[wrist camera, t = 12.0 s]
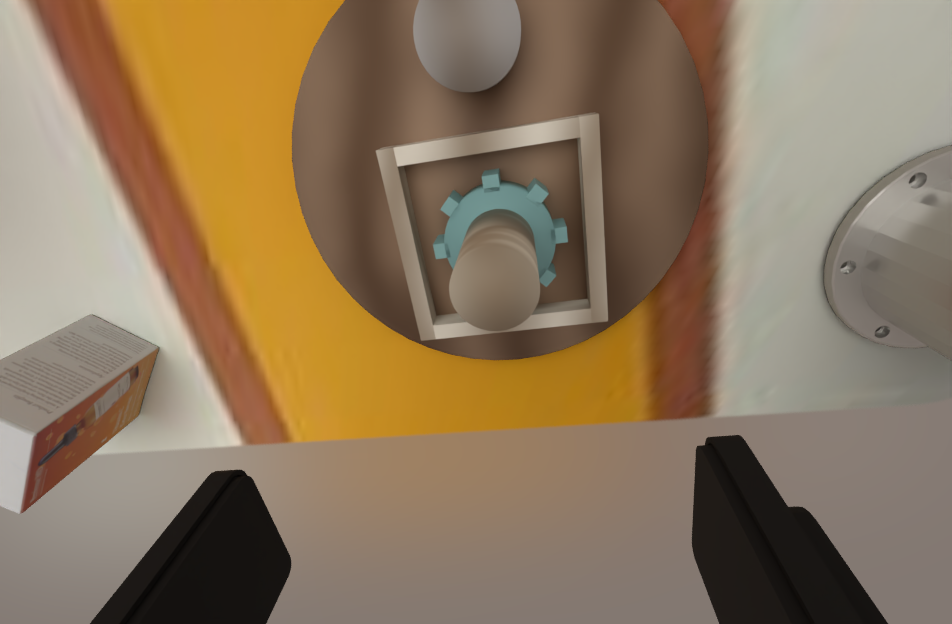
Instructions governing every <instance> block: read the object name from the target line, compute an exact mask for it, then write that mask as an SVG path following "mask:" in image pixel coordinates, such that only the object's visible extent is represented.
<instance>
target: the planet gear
mask: <svg viewBox="0 0 952 624" xmlns="http://www.w3.org/2000/svg"><path fill="white" fill-rule="evenodd" d="M482 183H483V184H481V185H478V186H476V187H475V188H473V189H471V190H470V191H469V192H467V193H466V194H465V195H464V196H461V195H460V194H459V193H457V192H456V191H455V190H453V191H452V192H451V194H450V195H449V197H448V198H447V200H446V201H445V203H444V204H443V206H442V207H441V209H440V210H441V211H443V212H444V213H445V214H447V215H448V216H450V218H449V220H448V223H447V226H446V229H445V234H442V235H438V236H437V238H436V240H435V242H434V244H433V248H434V252H435V257H436V259H442V258H448V261H449V263H450V265H451V267H452V269H453V272H452V275H451V278H450V283H449V293H450V299H451V302H452V304H453V307H454V308H455V310H456V312H457V313H458V314H459V315H460V316H461V317H462V318H463V319H464V320H465V321H466V322H468V323H469V324H471V325H472V326H474V327H477V328H479V329H483V330H487V331H503V330H508V329H511V328H514V327H516V326H518V325H520V324H522V323H523V322H524V321H526V320H527V319H528V318H529V317H530V316H531V314H532V313H533V312H534V310H535V308H536V306H537V304H538V301H539V297H540V283H542V284H543V285H544V286H546V287H547V286H548V285H549V284H550V283H551V282H552V280H553V279H554V278H555V277H556V272H555V267H554V264H553V263H551V261H552V259H553V256H554V252H555V246H556V244H558V243H566V242H568V238H567V226H566V224H565V221H564V218H559V219H552V218H551V215H550V212H549V210H548V208H547V206H546V205H545V203H544V202H543V201H544V199H545V198H546V197H547V196H548V194H549V193H548V190H547V187H546V186H545V185H543V184H542V183H541V182H540V181H538V180H537V179H536V178H534V179H533V180H532V182H531V183H530V184H529V185H528V187H526V186H524V185H522V184H519V183H516V182H512V181H503V180H501V178H500V170H499V168H498V169H492V170H485V171H484V172H483V174H482Z"/></svg>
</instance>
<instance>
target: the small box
mask: <svg viewBox="0 0 952 624" xmlns="http://www.w3.org/2000/svg"><path fill="white" fill-rule="evenodd" d="M158 350H159V347H157V346H155V345H153V344H151V343H149V342H147V341H145V340H143V339H140V338H138V337H136V336H134V335H132V334H130V333H128V332H126V331H124V330H122V329H120V328H118V327H116V326H114V325H112V324H110V323H108V322H106V321H104V320H102V319H100V318H98V317H96V316H94V315H88V316H86V317H84V318H82V319H80V320H78V321H76V322H74V323H72V324H70V325H69V326H67V327H65V328H63V329H61V330H59V331H57V332H55V333H53V334H51V335H49V336H47V337H45V338H43V339H41V340H39V341H37V342H35V343H33V344H31V345H29V346H27V347H25V348H23V349H21V350H19V351H17V352H15V353H13V354H11V355H9V356H7V357H5V358H3V359H1V360H0V506H2V507H4V508H7V509H9V510H12V511H14V512H17V513H19V514H21V513H23V512H24V511H26V510H27V509H28V508H29V507H30V506H31V505H33V504H34V503H35V502H36V501H37V500H38V499H40V498H41V497H42V496H43V495H44V494H46V493H47V492H48V491H49V490H50V489H52V488H53V487H54V486H55V485H56V484H58V483H59V482H60V481H61V480H62V479H64V478H65V477H66V476H67V475H68V474H70V473H71V472H72V471H73V470H74V469H75V468H77V467H78V466H79V465H80V464H81V463H83V462H84V461H85V460H86V459H87V458H89V457H90V456H91V455H92V454H93V453H95V452H96V451H97V450H98V449H99V448H101V447H102V446H103V445H104V444H105V443H107V442H108V441H109V440H110V439H111V438H112V437H114V436H115V435H116V434H117V433H118V432H120V431H121V430H122V429H123V428H124V427H126V426H127V425H128V424H129V423H130V422H131V421H133V420H134V419H135V418H136V417H137V416H138V415H139V412H140V408H141V403H142V400H143V397H144V393H145V390H146V387H147V384H148V381H149V378H150V374H151V371H152V368H153V365H154V362H155V359H156V356H157V353H158Z"/></svg>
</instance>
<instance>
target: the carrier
mask: <svg viewBox="0 0 952 624" xmlns="http://www.w3.org/2000/svg"><path fill="white" fill-rule="evenodd" d="M707 160H708V121H707V114H706V108H705V101H704V95H703V90H702V87H701V84H700V80H699V77H698V74H697V70H696V67H695V64H694V61H693V59H692V57H691V55H690V52H689V50H688V48H687V46H686V44H685V42H684V40H683V37H682V35H681V33H680V32H679V30H678V29H677V27H676V26H675V24H674V23H673V21H672V20H671V18H670V17H669V15H668V14H667V12H666V11H665V9H664V8H663V6H662V5H661V4H660V3H659V2H658V1H657V0H345V1H344V3H343V4H342V5H341V6H340V8H339V9H338V10H337V12H336V13H335V14H334V16H333V17H332V18H331V19H330V21H329V22H328V24H327V26H326V27H325V29H324V31H323V33H322V35H321V36H320V38H319V40H318V42H317V43H316V45H315V47H314V49H313V51H312V54H311V56H310V59H309V61H308V64H307V66H306V69H305V71H304V74H303V77H302V81H301V85H300V89H299V93H298V97H297V100H296V104H295V113H294V121H293V130H292V162H293V170H294V178H295V185H296V190H297V194H298V198H299V202H300V206H301V210H302V214H303V216H304V219H305V221H306V224H307V227H308V229H309V232H310V234H311V237H312V239H313V241H314V243H315V245H316V247H317V248H318V250H319V252H320V254H321V256H322V258H323V260H324V261H325V263H326V264H327V266H328V267H329V269H330V270H331V272H332V273H333V274H334V276H335V277H336V279H337V280H338V281H339V282H340V284H341V285H342V286H343V287H344V288H345V289H346V291H347V292H348V293H349V294H350V295H351V296H352V298H354V299H355V300H356V301H357V302H358V303H359V304H360V305H361V306H362V307H363V308H364V309H365V310H367V311H368V312H369V313H370V314H371V315H372V316H374V317H375V318H377V319H378V320H379V321H381V322H382V323H383V324H385V325H386V326H387V327H389V328H391V329H392V330H394V331H396V332H398V333H399V334H401V335H403V336H405V337H406V338H408V339H410V340H413V341H415V342H417V343H419V344H422V345H424V346H426V347H429V348H432V349H435V350H438V351H442V352H445V353H448V354H452V355H457V356H463V357H468V358H474V359H488V360H509V359H522V358H528V357H535V356H541V355H545V354H548V353H552V352H556V351H559V350H563V349H565V348H568V347H570V346H573V345H575V344H578V343H580V342H583V341H585V340H587V339H589V338H591V337H592V336H594V335H596V334H598V333H600V332H602V331H604V330H605V329H607V328H608V327H610V326H611V325H613V324H614V323H615V322H617V321H618V320H620V319H621V318H623V317H624V316H625V315H626V314H628V313H629V312H630V311H631V310H632V309H633V308H634V307H636V306H637V305H638V304H639V303H640V302H641V301H642V300H643V299H644V298H645V297H646V296H647V295H648V294H649V293H650V292H651V291H652V289H653V288H654V287H655V286H656V285H657V284H658V283H659V282H660V280H661V279H662V278H663V276H664V275H665V273H666V272H667V270H668V269H669V268H670V266H671V265H672V263H673V262H674V260H675V259H676V257H677V255H678V253H679V252H680V250H681V248H682V246H683V244H684V242H685V240H686V238H687V237H688V234H689V232H690V229H691V227H692V224H693V221H694V219H695V216H696V214H697V211H698V208H699V204H700V200H701V196H702V192H703V188H704V184H705V177H706V169H707ZM498 168H499V170H500V178H501V180H503V181H512V182H516V183H519V184H522V185H524V186H526V187H528V185H529V184H530V183H531V182H532V180H533V179H534V178H536V179H537V180H538V181H540V182H541V183H542V184H543V185H545V186H546V187H547V190H548V193H549V194H548V196H547V197H546V198H545V199H544V201H543V202H544V203H545V205H546V206H547V208H548V210H549V212H550V215H551V218H552V219H559V218H564V221H565V224H566V226H567V238H568V242H566V243H558V244H556V246H555V252H554V256H553V259H552V261H551V263H553V264H554V267H555V272H556V277H555V278H554V279H553V280H552V282H551V283H550V284H549V285H548V286H547V287H546V286H544V285H543V284H542V283H540V297H539V301H538V304H537V306H536V308H535V310H534V312H533V313H532V314H531V316H530V317H529V318H528V319H527V320H526V321H524V322H523V323H522V324H520V325H518V326H516V327H514V328H511V329H508V330H503V331H487V330H483V329H479V328H477V327H474V326H472V325H471V324H469V323H468V322H466V321H465V320H464V319H463V318H462V317H461V316H460V315H459V314H458V313H457V312H456V310H455V308H454V307H453V304H452V302H451V299H450V293H449V283H450V278H451V275H452V272H453V269H452V267H451V265H450V263H449V261H448V258H442V259H436V257H435V252H434V248H433V244H434V242H435V240H436V238H437V236H438V235H442V234H445V229H446V226H447V223H448V220H449V218H450V216H448V215H447V214H445V213H444V212H443V211H441V210H440V209H441V207H442V206H443V204H444V203H445V201H446V200H447V198H448V197H449V195H450V194H451V192H452V191H453V190H455V191H456V192H457V193H459V194H460V195H461V196H464V195H465V194H466V193H467V192H469V191H470V190H471V189H473V188H475V187H476V186H478V185H481V184H483V183H482V174H483V172H484V171H485V170H492V169H498Z"/></svg>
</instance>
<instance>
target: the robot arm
mask: <svg viewBox="0 0 952 624" xmlns="http://www.w3.org/2000/svg"><path fill="white" fill-rule="evenodd" d="M824 286H825V290H826V294H827V298H828V302H829V303H830V305H831V307H832V309H833V310H834V312H835V314H836V315H837V316H838V317H839V318H840V319H841V320H842V321H843V322H844V323H845V324H846V325H847V326H848V327H850V328H851V329H853V330H854V331H855V332H857V333H858V334H859V335H861V336H863V337H865V338H867V339H869V340H871V341H873V342H875V343H879V344H883V345H887V346H892V347H901V348H922V347H930V348H932V349H933V350H935V351H936V352H938V353H940V354H941V355H943V356H945V357H946V358H948V359H949V360H951V361H952V145H951V146H948V147H944V148H941V149H938V150H934V151H931V152H929V153H927V154H925V155H922V156H920V157H918V158H916V159H914V160H912V161H910V162H908V163H906V164H904V165H903V166H901V167H899V168H898V169H896V170H895V171H893V172H892V173H890V174H889V175H887V176H886V177H884V178H883V179H882V180H881V181H879V182H878V183H877V184H876V185H875V186H874V187H872V188H871V189H870V190H869V191H868V192H867V193H865V194H864V195H863V197H862V198H861V199H860V200H859V201H858V202H857V203H856V205H855V206H854V207H853V208H852V209H851V210H850V211H849V213H848V214H847V216H846V217H845V219H844V220H843V222H842V223H841V225H840V226H839V228H838V230H837V231H836V233H835V236H834V238H833V240H832V243H831V245H830V247H829V250H828V254H827V258H826V263H825V267H824ZM692 547H693V553H694V557H695V560H696V563H697V565H698V568H699V571H700V574H701V576H702V579H703V581H704V584H705V587H706V589H707V592H708V595H709V597H710V600H711V603H712V605H713V608H714V610H715V613H716V616H717V619H718V621H719V624H888V623H887V622H886V620H885V619H884V617H883V616H882V614H881V613H880V611H879V610H878V609H877V607H876V606H875V604H874V603H873V601H872V600H871V598H870V597H869V596H868V594H867V593H866V591H865V590H864V588H863V587H862V586H861V584H860V583H859V581H858V580H857V578H856V577H855V576H854V574H853V573H852V571H851V570H850V568H849V567H848V565H847V564H846V562H845V561H844V560H843V558H842V557H841V555H840V554H839V552H838V551H837V550H836V548H835V547H834V545H833V544H832V542H831V541H830V539H829V538H828V536H827V535H826V534H825V532H824V531H823V529H822V528H821V526H820V525H819V524H818V522H817V521H816V519H815V518H814V517H813V516H812V515H811V513H810V512H809V511H807V510H806V509H805V508H803V507H788V506H787V505H786V503H785V502H784V500H783V499H782V497H781V496H780V494H779V492H778V491H777V489H776V488H775V486H774V485H773V483H772V482H771V480H770V479H769V477H768V475H767V474H766V472H765V471H764V469H763V468H762V466H761V465H760V463H759V462H758V460H757V458H756V457H755V455H754V454H753V452H752V451H751V449H750V448H749V446H748V445H747V443H746V441H745V440H744V439H743V438H742V437H741V436H739V435H734V436H719V437H708V438H707V439H706V442H705V445H703V446H697V448H696V462H695V484H694V505H693V527H692ZM290 570H291V558H290V555H289V553H288V551H287V549H286V547H285V545H284V543H283V541H282V538H281V537H280V534H279V532H278V530H277V528H276V526H275V524H274V522H273V520H272V518H271V516H270V514H269V512H268V509H267V507H266V505H265V503H264V501H263V499H262V497H261V495H260V493H259V491H258V489H257V487H256V485H255V483H254V481H253V479H252V478H251V477H250V476H247V475H246V473H245V472H244V471H242V470H228V471H215V472H213V473H211V474H210V475H209V476H208V477H207V478H206V480H205V481H204V482H203V483H202V485H201V486H200V487H199V488H198V490H197V491H196V492H195V493H194V495H193V496H192V497H191V499H190V500H189V501H188V502H187V503H186V505H185V506H184V507H183V508H182V510H181V511H180V512H179V513H178V515H177V516H176V517H175V518H174V519H173V521H172V522H171V523H170V525H169V526H168V527H167V528H166V529H165V531H164V532H163V533H162V534H161V536H160V537H159V538H158V539H157V541H156V542H155V543H154V544H153V546H152V547H151V548H150V549H149V551H148V552H147V553H146V554H145V556H144V557H143V558H142V560H141V561H140V562H139V563H138V564H137V566H136V567H135V568H134V570H133V571H132V572H131V573H130V574H129V576H128V577H127V578H126V579H125V581H124V582H123V583H122V584H121V586H120V587H119V588H118V589H117V591H116V592H115V593H114V594H113V596H112V597H111V598H110V599H109V601H108V602H107V603H106V604H105V606H104V607H103V608H102V609H101V611H100V612H99V613H98V614H97V615H96V617H95V618H94V619H93V620H92V622H91V623H90V624H266V623H267V620H268V618H269V616H270V614H271V612H272V610H273V608H274V606H275V604H276V602H277V599H278V597H279V595H280V593H281V591H282V589H283V587H284V585H285V582H286V580H287V578H288V576H289V573H290Z"/></svg>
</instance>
